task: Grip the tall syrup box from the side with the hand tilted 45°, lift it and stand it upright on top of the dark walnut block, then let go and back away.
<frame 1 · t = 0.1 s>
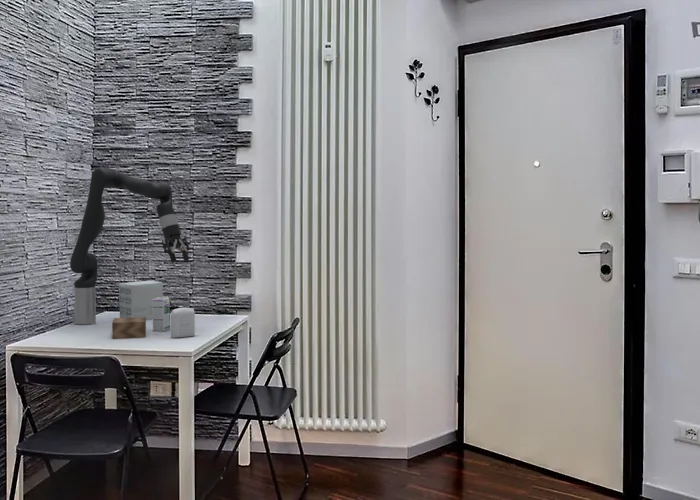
hand: (180, 261, 294), 31 cm above the table, tool tilted 20°, fingers open, 8 cm apart
photo printer: (182, 337, 286), on the table
syrup box: (161, 330, 302), on the table
walnut block: (129, 336, 289), on the table
supplement box: (141, 319, 335), on the table
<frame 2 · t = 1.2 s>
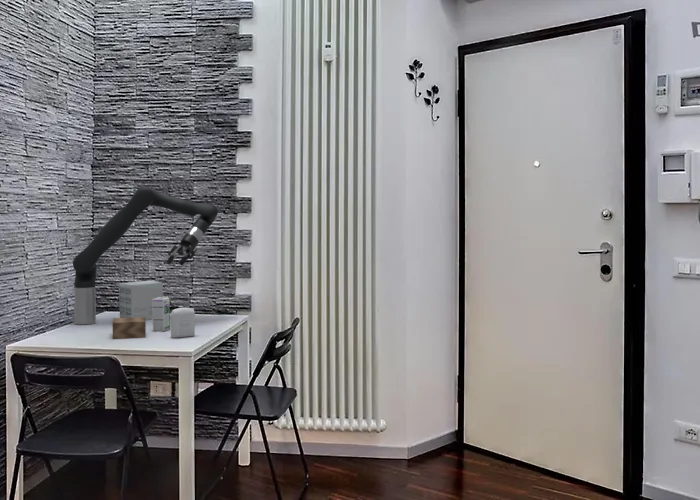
hand: (174, 263, 314), 29 cm above the table, tool tilted 45°, fingers open, 8 cm apart
nothing on the table moved.
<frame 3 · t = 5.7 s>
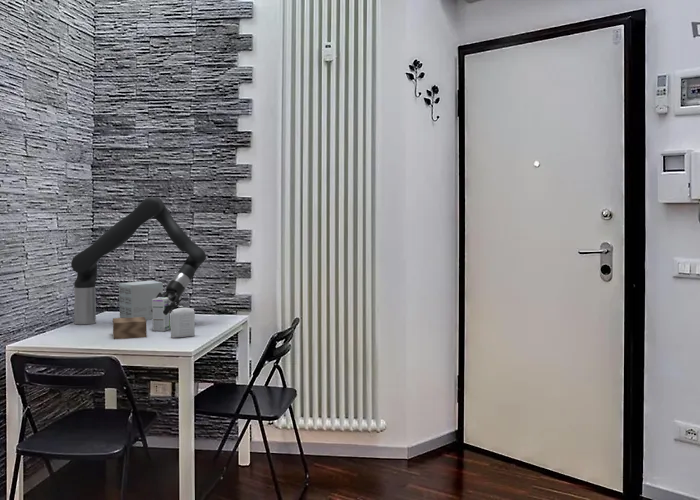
hand: (158, 313, 301), 8 cm above the table, tool tilted 45°, fingers closed on syrup box, 7 cm apart
syrup box: (161, 330, 302), on the table, touching gripper
everything else where it was.
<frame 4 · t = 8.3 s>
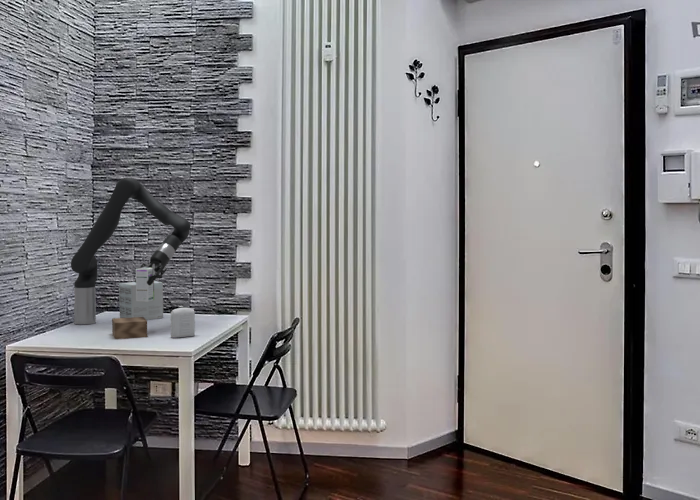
hand: (142, 283, 293), 22 cm above the table, tool tilted 45°, fingers closed on syrup box, 7 cm apart
syrup box: (145, 301, 295), point 14 cm above the table, touching gripper
everything else where it was.
when the fingers open (16 cm above the table, at t = 11.0 s): syrup box drops 1 cm, resting on walnut block.
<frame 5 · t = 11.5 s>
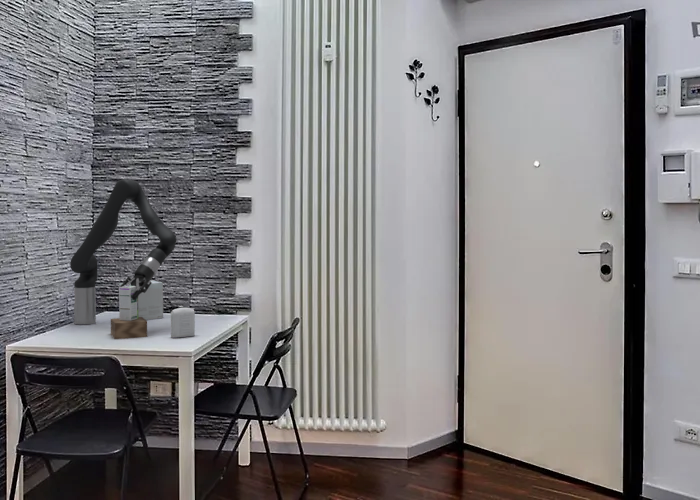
hand: (126, 298, 287), 16 cm above the table, tool tilted 45°, fingers open, 8 cm apart
syrup box: (128, 320, 289), point 6 cm above the table, touching gripper, walnut block
walnut block: (128, 336, 289), on the table, touching syrup box
everything else where it was.
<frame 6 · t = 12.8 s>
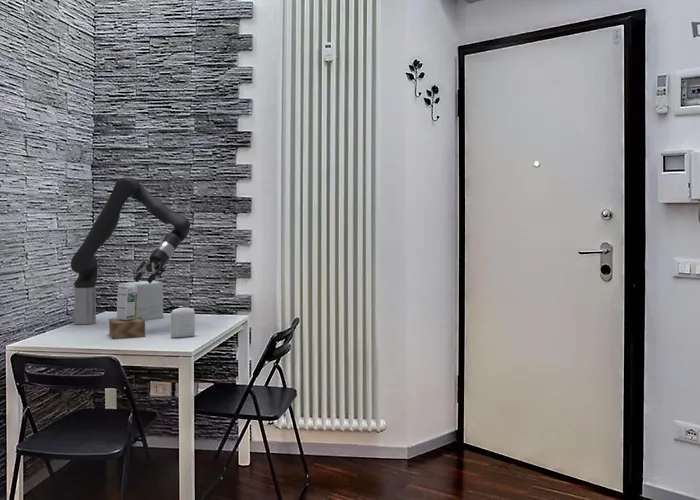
hand: (142, 281, 293), 23 cm above the table, tool tilted 45°, fingers open, 8 cm apart
syrup box: (126, 319, 289), point 7 cm above the table
walnut block: (127, 336, 289), on the table
everything else where it was.
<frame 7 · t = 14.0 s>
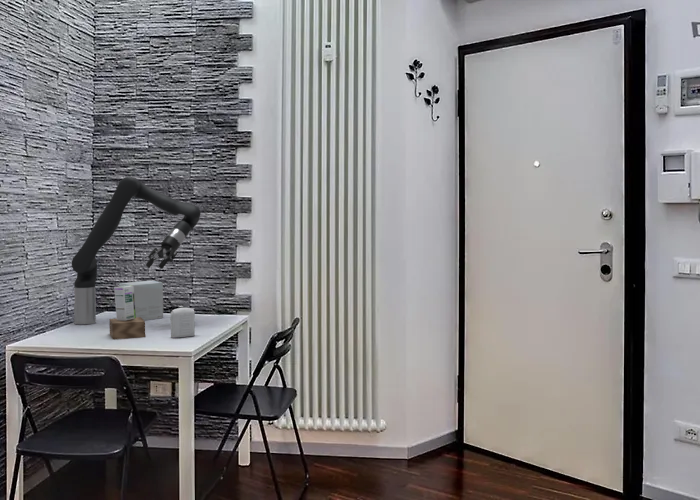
hand: (153, 267, 302), 28 cm above the table, tool tilted 45°, fingers open, 8 cm apart
syrup box: (126, 320, 289), point 7 cm above the table, touching walnut block
walnut block: (127, 336, 288), on the table, touching syrup box
everything else where it was.
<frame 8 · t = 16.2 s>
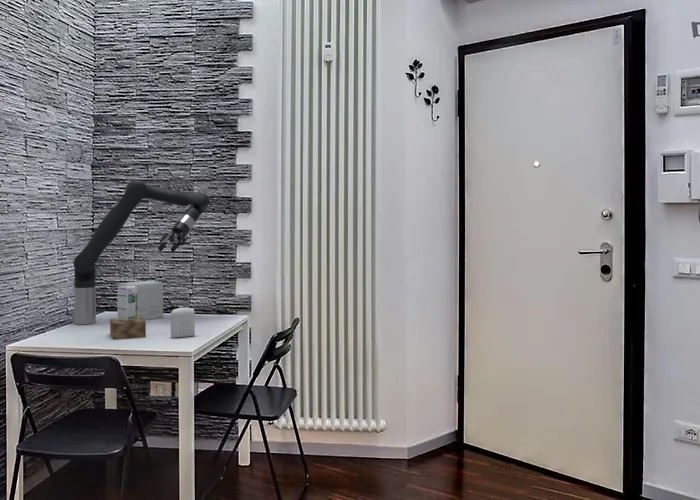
hand: (165, 250, 319), 35 cm above the table, tool tilted 45°, fingers open, 8 cm apart
at the end: syrup box inside the target area on the walnut block (0.7 cm from its centre), point 7.0 cm above the walnut block's base; syrup box tilted 3°; the gripper is holding nothing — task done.
